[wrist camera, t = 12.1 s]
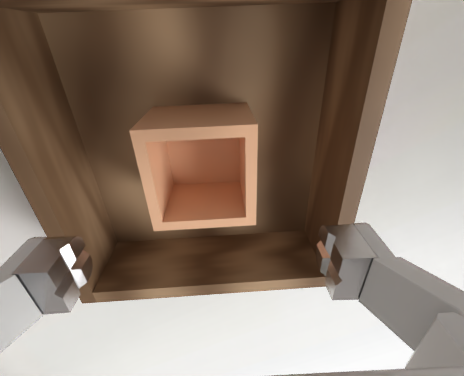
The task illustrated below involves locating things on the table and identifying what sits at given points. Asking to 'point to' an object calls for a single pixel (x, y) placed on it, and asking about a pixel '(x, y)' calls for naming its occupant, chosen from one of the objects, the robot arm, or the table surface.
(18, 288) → the robot arm
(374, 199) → the table surface
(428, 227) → the table surface
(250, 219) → the terracotta tub
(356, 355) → the table surface
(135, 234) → the walnut crate
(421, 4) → the table surface
